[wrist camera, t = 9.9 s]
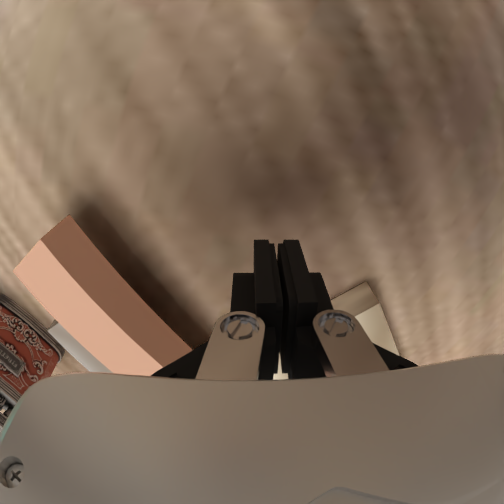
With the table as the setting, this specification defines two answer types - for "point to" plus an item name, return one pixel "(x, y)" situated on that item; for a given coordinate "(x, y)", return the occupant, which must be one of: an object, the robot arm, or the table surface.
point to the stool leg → (97, 303)
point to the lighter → (22, 354)
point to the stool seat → (352, 301)
